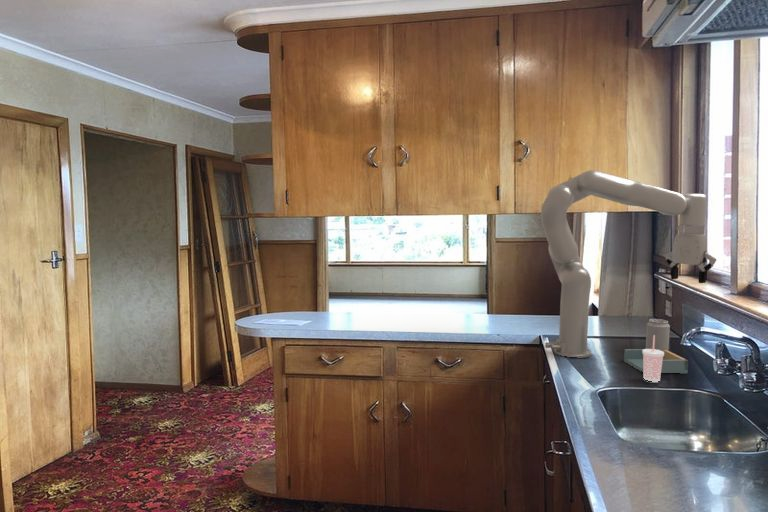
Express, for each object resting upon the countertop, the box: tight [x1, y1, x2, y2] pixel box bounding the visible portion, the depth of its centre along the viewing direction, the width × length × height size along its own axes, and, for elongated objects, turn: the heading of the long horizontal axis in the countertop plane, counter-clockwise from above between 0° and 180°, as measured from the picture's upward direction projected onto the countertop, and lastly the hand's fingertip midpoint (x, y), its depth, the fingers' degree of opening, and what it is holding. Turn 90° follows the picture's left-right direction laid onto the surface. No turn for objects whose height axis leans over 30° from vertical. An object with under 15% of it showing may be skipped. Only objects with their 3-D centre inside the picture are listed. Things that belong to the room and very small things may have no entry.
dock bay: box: [623, 348, 689, 374], centre depth 193 cm, size 14×14×4 cm
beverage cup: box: [642, 335, 664, 383], centre depth 179 cm, size 6×6×14 cm
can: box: [645, 318, 671, 351], centre depth 210 cm, size 8×8×12 cm
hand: (687, 280), depth 199 cm, fingers open, 9 cm apart
